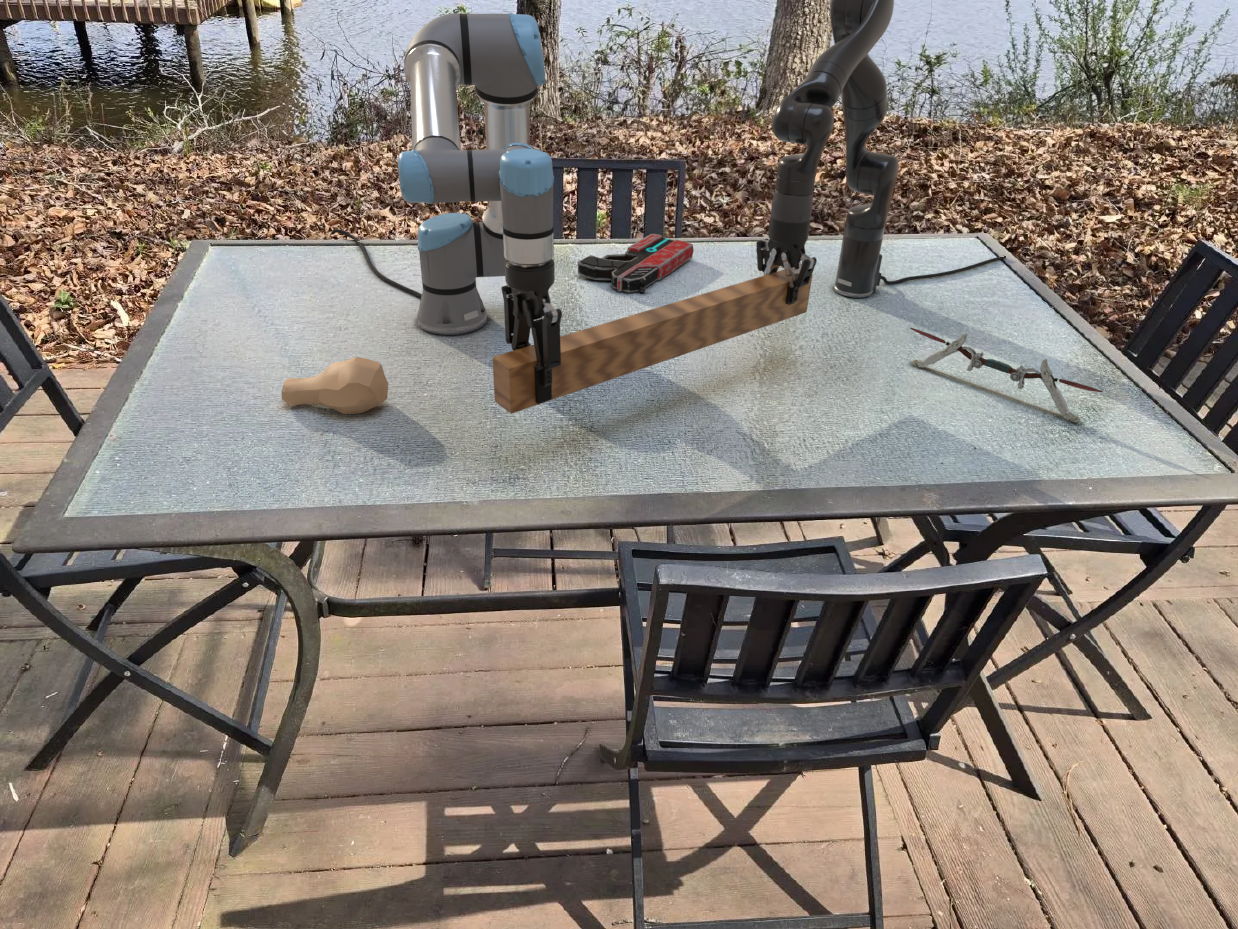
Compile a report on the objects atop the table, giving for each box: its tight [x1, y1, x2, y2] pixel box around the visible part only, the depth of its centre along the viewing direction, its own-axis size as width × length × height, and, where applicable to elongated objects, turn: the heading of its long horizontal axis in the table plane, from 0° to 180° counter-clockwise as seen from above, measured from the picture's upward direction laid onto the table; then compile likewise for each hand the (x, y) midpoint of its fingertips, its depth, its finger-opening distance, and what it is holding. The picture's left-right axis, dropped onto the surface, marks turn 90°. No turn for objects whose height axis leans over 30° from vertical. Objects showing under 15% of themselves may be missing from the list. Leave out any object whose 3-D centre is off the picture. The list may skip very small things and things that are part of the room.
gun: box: [577, 233, 695, 294], centre depth 225 cm, size 4×31×19 cm
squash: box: [281, 356, 389, 415], centre depth 163 cm, size 11×20×9 cm, turn 90°
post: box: [491, 267, 813, 415], centre depth 158 cm, size 70×5×8 cm, turn 128°
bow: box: [909, 326, 1104, 423], centre depth 173 cm, size 39×2×10 cm, turn 47°
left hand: (534, 393), depth 145 cm, fingers closed on post, 5 cm apart
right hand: (779, 298), depth 174 cm, fingers closed on post, 5 cm apart
